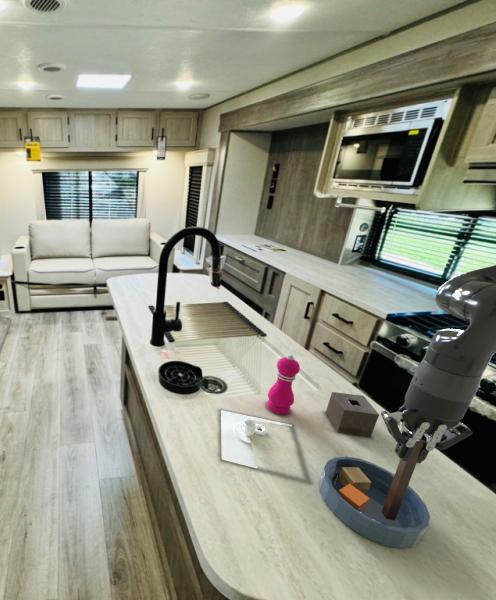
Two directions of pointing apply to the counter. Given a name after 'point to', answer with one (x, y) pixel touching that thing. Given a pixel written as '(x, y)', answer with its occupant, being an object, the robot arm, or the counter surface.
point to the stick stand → (351, 414)
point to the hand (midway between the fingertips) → (407, 458)
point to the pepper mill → (283, 386)
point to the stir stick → (401, 482)
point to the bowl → (375, 505)
